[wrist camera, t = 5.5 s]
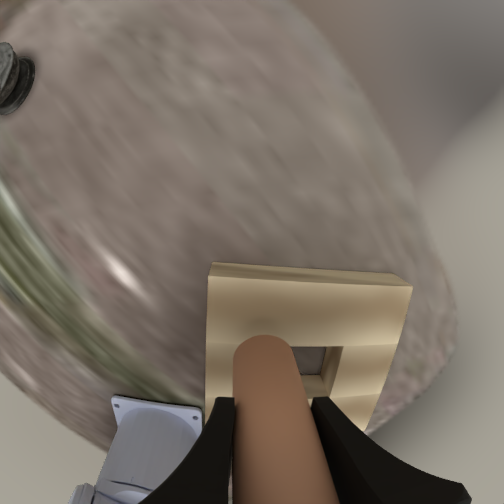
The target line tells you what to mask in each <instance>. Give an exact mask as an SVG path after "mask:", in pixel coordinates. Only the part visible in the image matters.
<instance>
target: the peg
mask: <svg viewBox="0 0 504 504" xmlns="http://www.w3.org/2000/svg"><path fill="white" fill-rule="evenodd" d="M232 397H235V417H234V430H233V440H232V500H233V504H340V503H339V499H338V496H337V493H336V489H335V486H334V483H333V479H332V476H331V473H330V470H329V466H328V463H327V460H326V457H325V453H324V450H323V447H322V444H321V440H320V437H319V434H318V431H317V427H316V424H315V421H314V418H313V415H312V411H311V408H310V405H309V402H308V399H307V395H306V392H305V389H304V386H303V383H302V380H301V376H300V373H299V370H298V367H297V364H296V361H295V357H294V354H293V351H292V349H291V347H290V346H289V344H288V343H287V342H286V341H284V340H283V339H281V338H279V337H277V336H273V335H257V336H253V337H251V338H249V339H247V340H245V341H244V342H242V343H241V344H240V345H239V346H238V347H237V349H236V351H235V353H234V356H233V392H232Z"/></svg>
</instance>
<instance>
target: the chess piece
mask: <svg viewBox="0 0 504 504" xmlns="http://www.w3.org/2000/svg"><path fill="white" fill-rule="evenodd" d="M34 75H35V66H34V63H33V61H32V60H31V59H30V58H28V57H19V58H18V57H17V55H16V53H15V52H14V51H13V48H12V46H11V45H10V44H9V43H6V42H2V43H0V114H1V115H7V114H9V113H12V112H13V111H15V110H16V109H17V108H18V107H19V106H20V105H21V104H22V103H23V101H24V100H25V98H26V97H27V95H28V93H29V91H30V89H31V87H32V84H33V81H34Z"/></svg>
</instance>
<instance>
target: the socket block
mask: <svg viewBox="0 0 504 504" xmlns="http://www.w3.org/2000/svg"><path fill="white" fill-rule="evenodd" d="M412 289H413V286H412V285H410V284H408V283H407V282H405V281H404V280H402V279H401V278H399V277H398V276H396V275H394V274H393V273H377V272H359V271H342V270H326V269H310V268H294V267H279V266H264V265H250V264H235V263H222V262H212V265H211V269H210V272H209V275H208V296H207V325H206V377H205V424H206V422H207V420H208V418H209V416H210V414H211V411H212V409H213V406H214V402H215V398H217V397H232V392H233V356H234V353H235V351H236V349H237V347H238V346H239V345H240V344H241V343H242V342H244V341H245V340H247V339H249V338H251V337H253V336H257V335H273V336H277V337H279V338H281V339H283V340H284V341H286V342H287V343H288V344H289V346H327V347H326V351H325V356H324V360H323V364H322V368H321V372H320V375H300V376H301V380H302V383H303V386H304V389H305V392H306V395H307V399H308V402H309V405H310V407H311V404H312V400H313V397H324V396H328V397H329V398H330V399H331V400H332V401H333V402H334V403H335V404H336V405H337V406H338V408H339V409H340V410H341V411H342V412H343V413H344V414H345V415H346V416H347V417H348V418H349V419H350V420H351V421H352V422H353V423H354V424H355V425H356V426H357V427H358V428H359V429H360V430H361V431H364V430H365V429H366V427H367V424H368V422H369V420H370V417H371V415H372V413H373V410H374V408H375V406H376V403H377V401H378V398H379V396H380V393H381V391H382V388H383V385H384V383H385V380H386V377H387V374H388V372H389V369H390V366H391V363H392V360H393V357H394V354H395V351H396V348H397V345H398V341H399V338H400V335H401V331H402V328H403V324H404V321H405V317H406V313H407V310H408V306H409V302H410V298H411V294H412Z"/></svg>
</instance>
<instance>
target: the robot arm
mask: <svg viewBox="0 0 504 504" xmlns="http://www.w3.org/2000/svg"><path fill="white" fill-rule="evenodd" d="M111 402H112V406H113V410H114V414H115V418H116V422H117V425H118V429H117V432H116V434H115V437H114V439H113V442H112V444H111V447H110V449H109V452H108V454H107V457H106V459H105V462H104V465H103V467H102V470H101V472H100V475H99V478H98V480H97V483H96V485H95V486H94V487H93V486H92V485H90V484H88V483H85V484H84V485H78V486H77V487H76V488H75V490H74V492H73V494H72V496H71V498H70V500H69V502H68V504H228V486H229V478H230V470H231V461H232V440H233V430H234V417H235V397H217V398H215V402H214V406H213V409H212V411H211V414H210V416H209V418H208V420H207V422H206V424H205V426H204V428H203V430H202V411H201V409H199V408H197V407H188V406H179V405H171V404H163V403H156V402H150V401H144V400H138V399H132V398H127V397H121V396H116V395H114V396H113V397H112V398H111ZM117 404H118V405H117ZM310 408H311V411H312V415H313V418H314V421H315V424H316V427H317V431H318V434H319V437H320V440H321V444H322V447H323V450H324V453H325V457H326V460H327V463H328V466H329V470H330V473H331V476H332V479H333V483H334V486H335V489H336V493H337V496H338V499H339V503H340V504H470V503H471V501H472V498H471V497H470V495H469V494H468V492H467V490H466V489H465V487H464V486H463V484H462V483H457V482H454V481H450V480H446V479H442V478H439V477H436V476H434V475H431V474H428V473H426V472H424V471H421V470H419V469H417V468H415V467H413V466H411V465H409V464H407V463H405V462H403V461H402V460H400V459H398V458H396V457H395V456H393V455H392V454H390V453H389V452H387V451H386V450H384V449H383V448H382V447H380V446H379V445H377V444H376V443H375V442H374V441H373V440H371V439H370V438H369V437H368V436H367V435H366V434H364V433H363V432H362V431H361V430H360V429H359V428H358V427H357V426H356V425H355V424H354V423H353V422H352V421H351V420H350V419H349V418H348V417H347V416H346V415H345V414H344V413H343V412H342V411H341V410H340V409H339V408H338V406H337V405H336V404H335V403H334V402H333V401H332V400H331V399H330V398H329V397H328V396H324V397H313V400H312V404H311V407H310ZM194 416H197V417H194Z"/></svg>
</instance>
